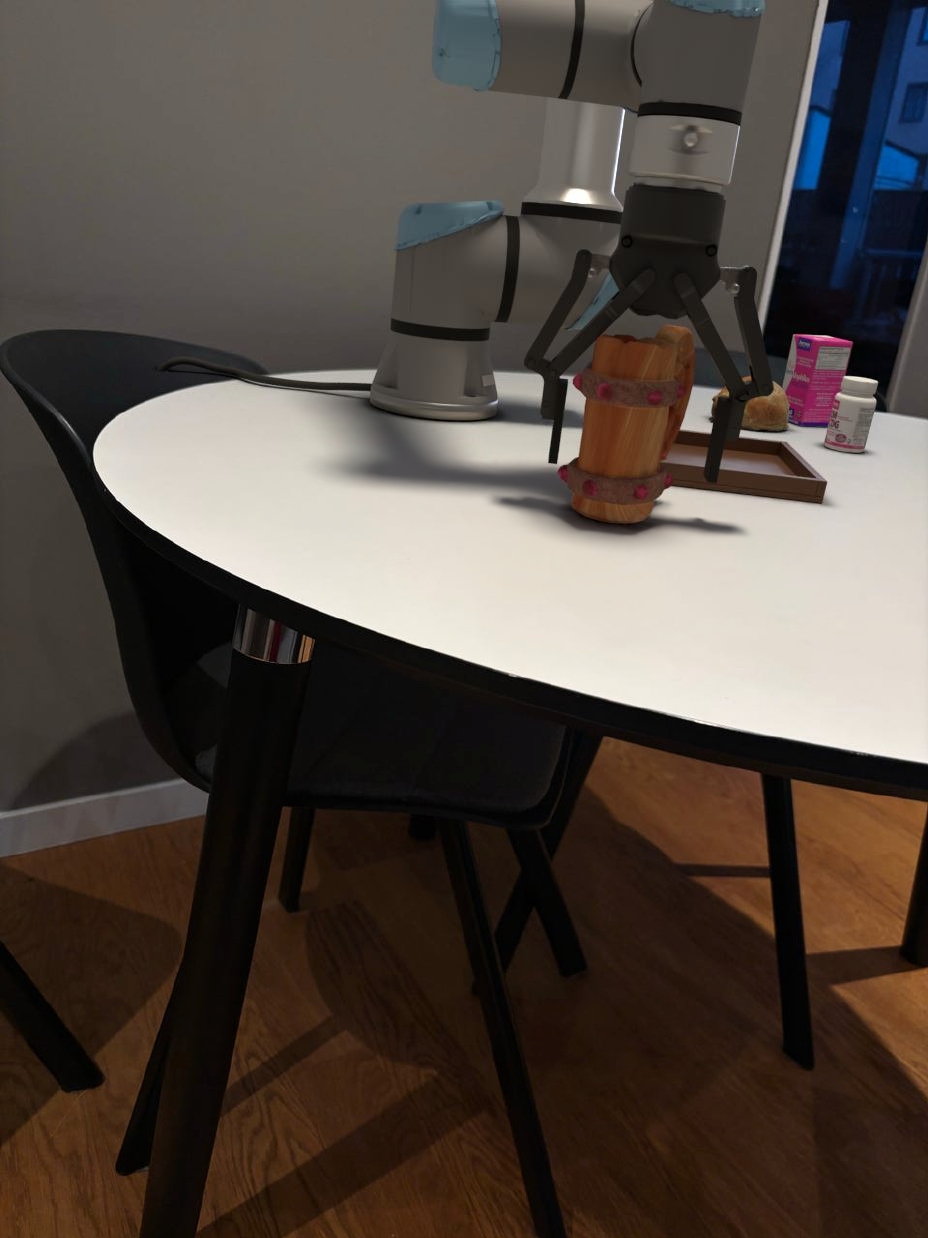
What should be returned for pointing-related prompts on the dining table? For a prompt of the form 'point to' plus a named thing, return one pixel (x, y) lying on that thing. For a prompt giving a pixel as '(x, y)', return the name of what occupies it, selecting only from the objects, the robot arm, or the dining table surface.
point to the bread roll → (762, 410)
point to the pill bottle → (851, 415)
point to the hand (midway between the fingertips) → (630, 469)
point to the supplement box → (814, 377)
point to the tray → (745, 467)
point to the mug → (630, 423)
